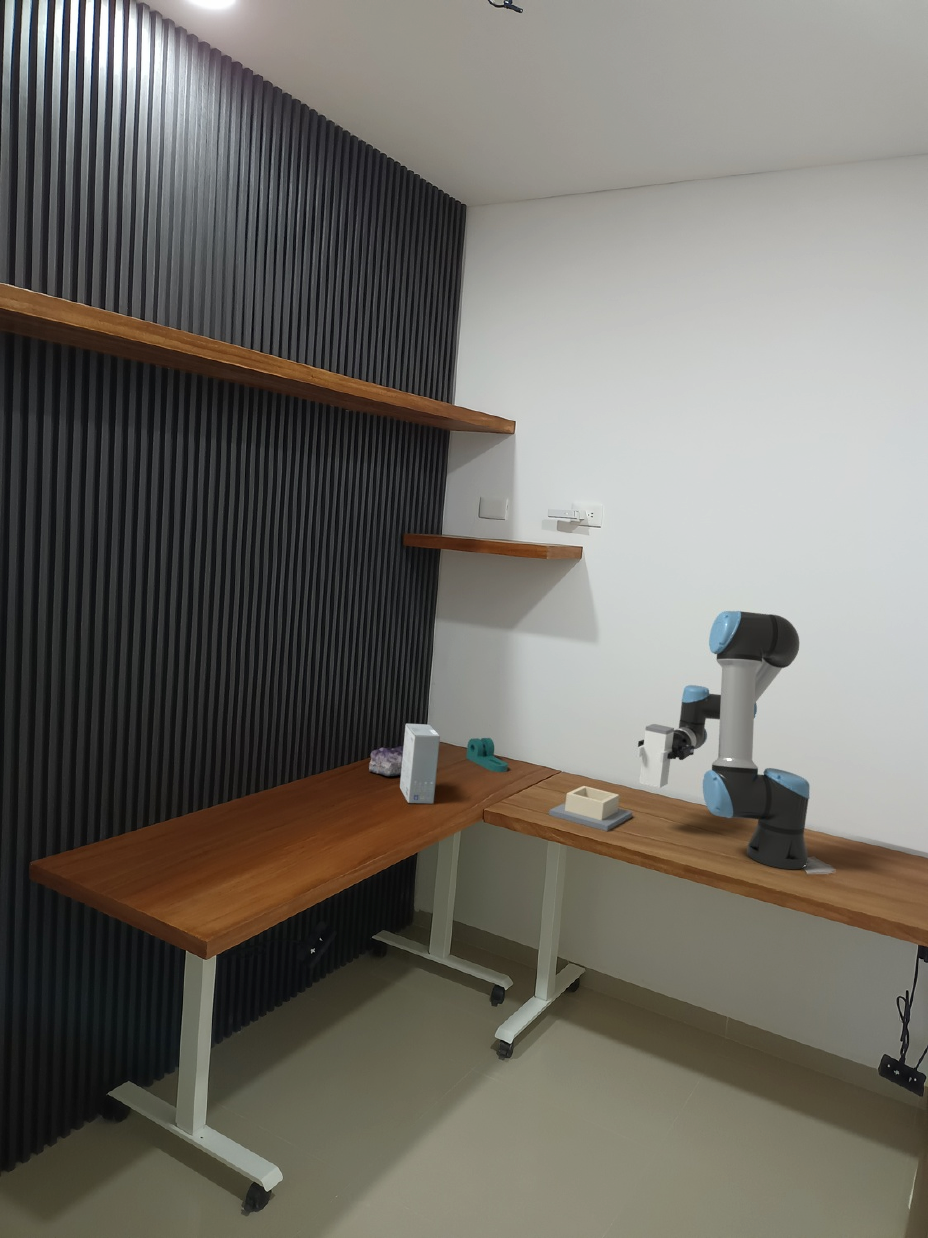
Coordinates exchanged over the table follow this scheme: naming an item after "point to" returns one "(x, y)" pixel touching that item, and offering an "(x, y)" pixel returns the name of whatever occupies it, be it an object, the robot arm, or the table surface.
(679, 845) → the table surface
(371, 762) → the geode
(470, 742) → the bracket
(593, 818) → the holder
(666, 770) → the white grey-topped block
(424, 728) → the hard drive box
